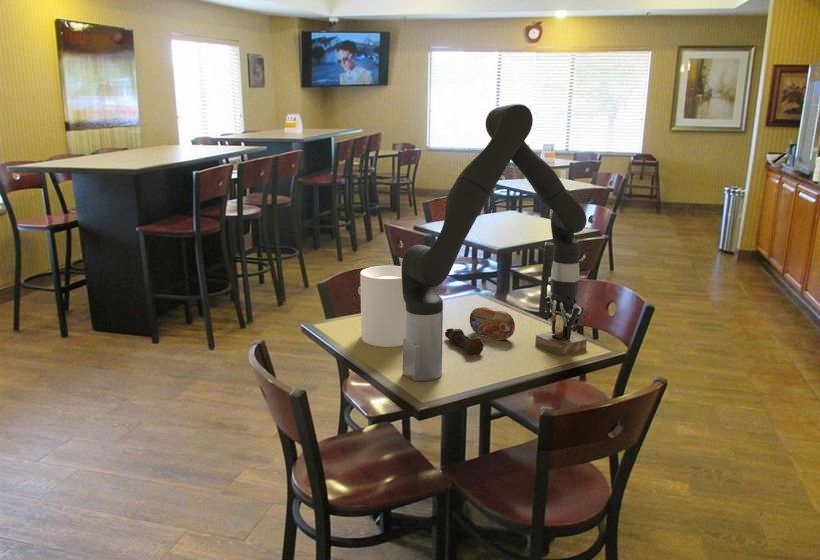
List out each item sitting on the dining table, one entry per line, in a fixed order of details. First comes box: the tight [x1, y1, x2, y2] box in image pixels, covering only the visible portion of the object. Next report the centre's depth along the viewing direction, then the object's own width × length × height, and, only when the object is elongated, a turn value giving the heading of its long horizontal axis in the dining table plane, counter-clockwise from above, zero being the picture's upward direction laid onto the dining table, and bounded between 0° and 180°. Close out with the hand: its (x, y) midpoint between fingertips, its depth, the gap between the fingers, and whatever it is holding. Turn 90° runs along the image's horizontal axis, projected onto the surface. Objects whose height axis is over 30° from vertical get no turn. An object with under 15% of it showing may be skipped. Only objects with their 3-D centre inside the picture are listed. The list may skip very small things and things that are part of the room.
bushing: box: [555, 313, 569, 340], centre depth 186 cm, size 4×4×8 cm
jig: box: [535, 331, 588, 357], centre depth 187 cm, size 10×10×3 cm
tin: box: [469, 306, 516, 341], centre depth 195 cm, size 15×3×8 cm, turn 47°
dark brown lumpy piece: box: [444, 328, 485, 357], centre depth 187 cm, size 6×5×15 cm
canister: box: [359, 265, 406, 348], centre depth 193 cm, size 16×16×20 cm
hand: (561, 335), depth 187 cm, fingers closed on bushing, 3 cm apart
